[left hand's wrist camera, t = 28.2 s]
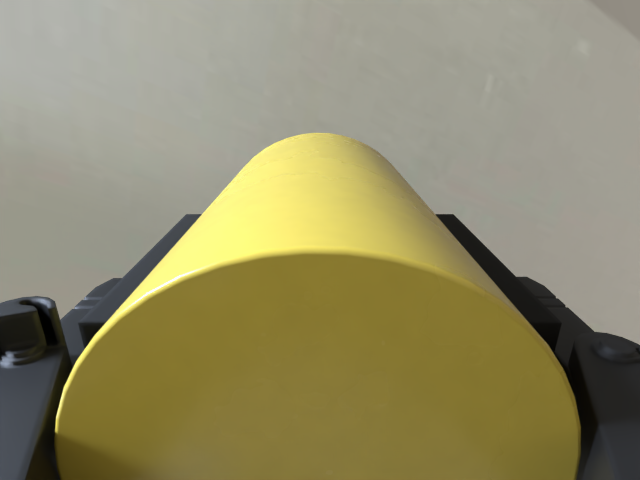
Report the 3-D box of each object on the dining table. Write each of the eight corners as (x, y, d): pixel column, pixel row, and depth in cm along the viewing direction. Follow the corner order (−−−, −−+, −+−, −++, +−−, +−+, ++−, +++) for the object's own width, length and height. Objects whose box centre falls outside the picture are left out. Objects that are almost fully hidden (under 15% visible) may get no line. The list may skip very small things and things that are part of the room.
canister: (440, 271, 16) (627, 567, 6) (277, 336, 18) (222, 673, 8) (371, 96, 14) (500, 132, 4) (187, 184, 15) (-72, 386, 5)
